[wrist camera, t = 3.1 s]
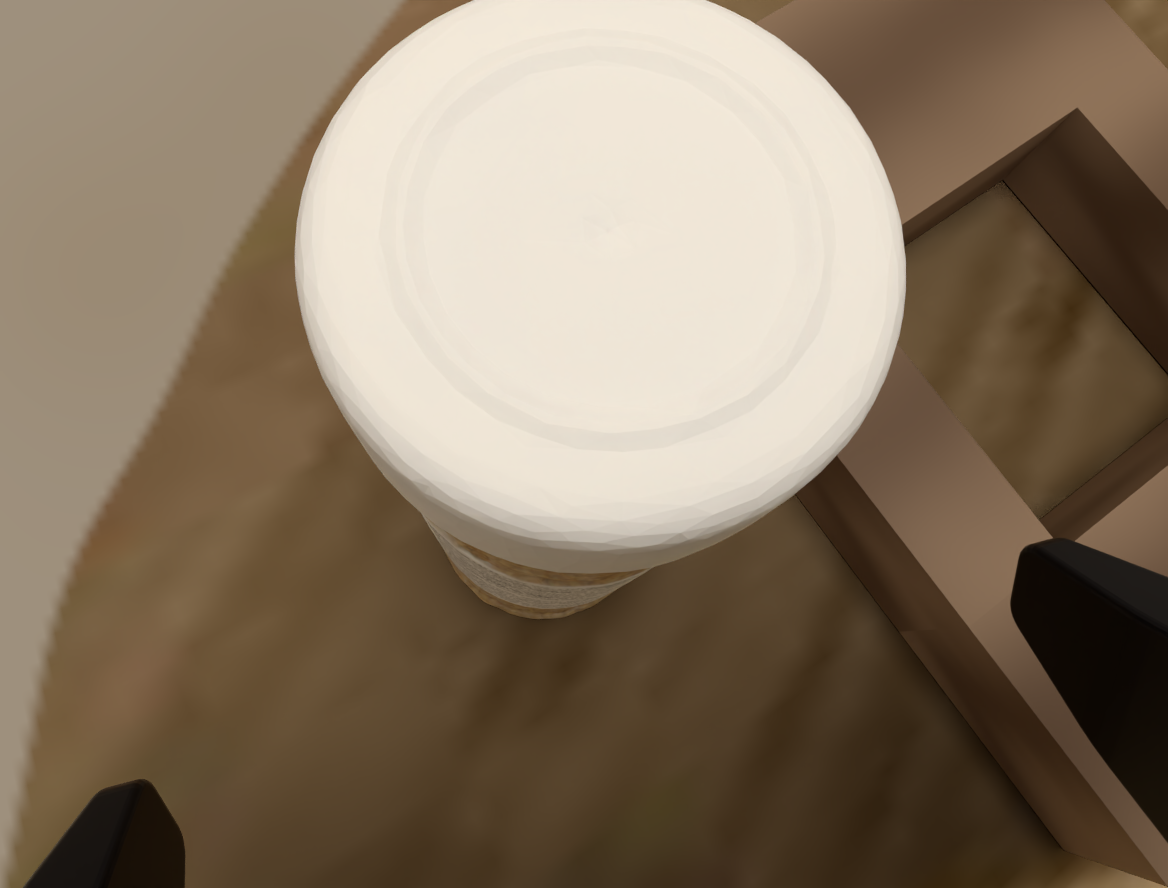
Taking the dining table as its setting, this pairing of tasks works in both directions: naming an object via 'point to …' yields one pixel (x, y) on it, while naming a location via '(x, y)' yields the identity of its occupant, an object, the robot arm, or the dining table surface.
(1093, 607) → the robot arm
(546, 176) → the sprinkles bottle
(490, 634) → the dining table surface
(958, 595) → the socket block
